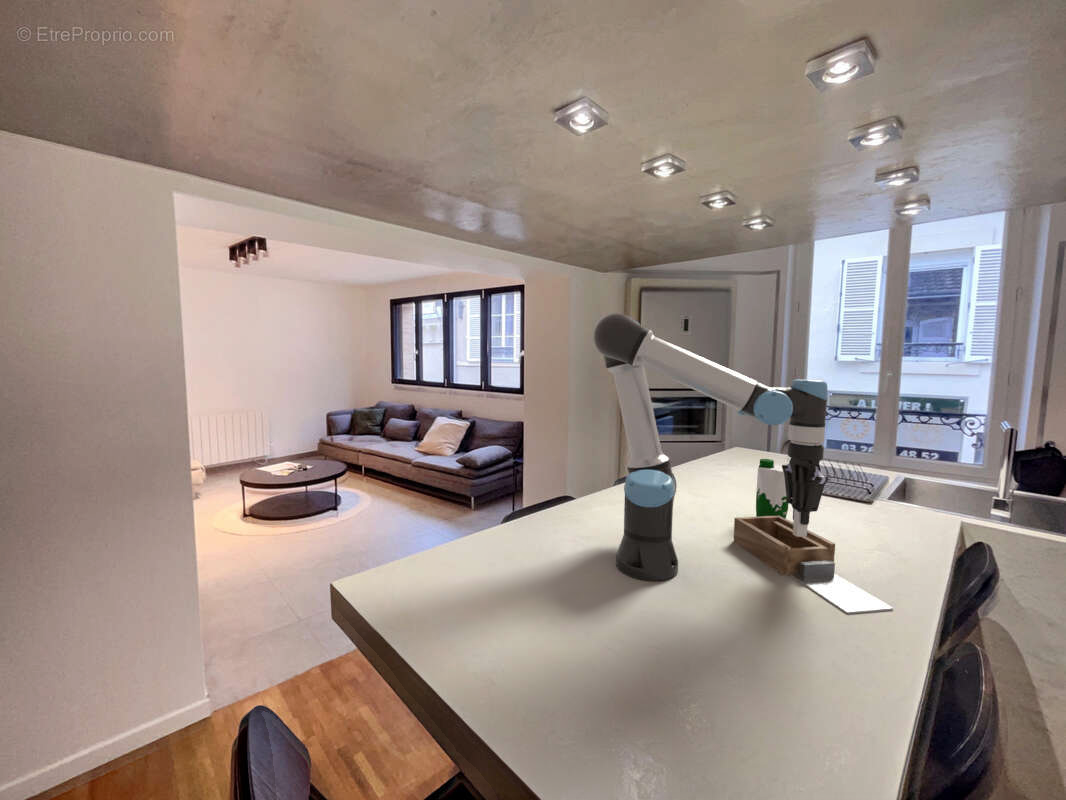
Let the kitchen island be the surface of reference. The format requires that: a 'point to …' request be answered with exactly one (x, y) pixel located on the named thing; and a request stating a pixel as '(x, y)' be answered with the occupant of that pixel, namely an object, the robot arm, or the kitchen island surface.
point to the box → (780, 543)
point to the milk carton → (771, 490)
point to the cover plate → (837, 588)
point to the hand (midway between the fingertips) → (799, 535)
